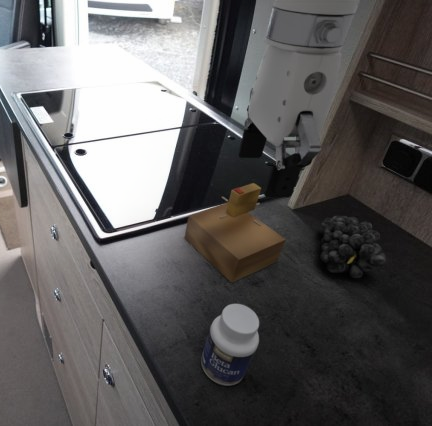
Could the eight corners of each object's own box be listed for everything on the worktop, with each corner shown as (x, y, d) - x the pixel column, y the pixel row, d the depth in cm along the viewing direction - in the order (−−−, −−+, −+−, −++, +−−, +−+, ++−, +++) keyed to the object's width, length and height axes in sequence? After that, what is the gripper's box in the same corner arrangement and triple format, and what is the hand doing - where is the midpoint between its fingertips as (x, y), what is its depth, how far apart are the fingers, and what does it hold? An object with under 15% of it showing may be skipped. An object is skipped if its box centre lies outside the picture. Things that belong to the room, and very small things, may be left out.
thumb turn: (247, 204, 66) (254, 181, 64) (254, 209, 65) (261, 186, 62) (225, 211, 64) (231, 188, 62) (233, 217, 63) (239, 194, 60)
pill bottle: (199, 381, 45) (214, 332, 39) (201, 343, 49) (215, 294, 43) (245, 392, 44) (268, 344, 38) (243, 352, 48) (264, 303, 42)
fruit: (337, 185, 65) (354, 236, 53) (381, 206, 64) (408, 263, 53) (304, 219, 70) (313, 273, 58) (344, 240, 70) (361, 298, 58)
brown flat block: (291, 255, 63) (301, 232, 60) (231, 282, 58) (239, 258, 55) (234, 212, 73) (240, 190, 70) (178, 232, 67) (182, 209, 64)
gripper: (397, 51, 31) (322, 215, 41) (304, 16, 45) (265, 145, 55) (309, 49, 31) (256, 215, 41) (243, 14, 45) (215, 144, 55)
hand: (261, 174), depth 48 cm, fingers open, 9 cm apart
